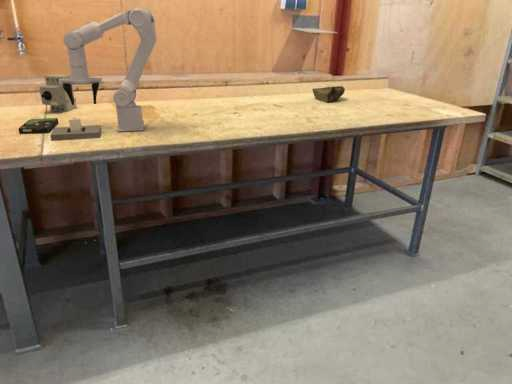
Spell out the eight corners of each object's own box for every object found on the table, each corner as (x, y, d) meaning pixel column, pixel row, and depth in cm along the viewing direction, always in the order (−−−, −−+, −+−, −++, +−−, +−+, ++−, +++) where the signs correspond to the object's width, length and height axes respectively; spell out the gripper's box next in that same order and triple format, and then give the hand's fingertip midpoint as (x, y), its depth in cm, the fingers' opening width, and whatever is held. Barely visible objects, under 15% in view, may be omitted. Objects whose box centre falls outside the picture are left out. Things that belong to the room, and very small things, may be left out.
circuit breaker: (41, 113, 180) (34, 78, 174) (62, 107, 192) (57, 73, 186) (56, 115, 178) (50, 79, 172) (77, 108, 191) (71, 74, 185)
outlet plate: (101, 130, 158) (100, 125, 157) (99, 137, 149) (99, 132, 148) (55, 132, 154) (54, 127, 153) (51, 140, 145) (50, 135, 144)
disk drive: (50, 134, 153) (59, 124, 167) (48, 127, 152) (57, 117, 165) (19, 135, 151) (31, 125, 165) (17, 128, 150) (29, 118, 163)
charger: (82, 133, 153) (79, 116, 151) (81, 135, 150) (79, 118, 148) (72, 133, 152) (69, 117, 150) (71, 136, 149) (68, 119, 147)
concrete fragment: (307, 94, 220) (324, 76, 223) (317, 109, 224) (334, 91, 228) (323, 92, 207) (342, 73, 211) (334, 108, 211) (352, 89, 215)
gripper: (55, 68, 145) (62, 107, 151) (99, 67, 149) (104, 105, 155) (58, 65, 151) (64, 103, 157) (100, 65, 155) (104, 101, 161)
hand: (84, 103), depth 156 cm, fingers open, 7 cm apart
